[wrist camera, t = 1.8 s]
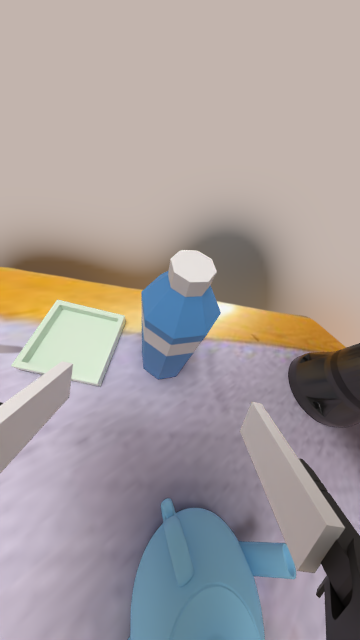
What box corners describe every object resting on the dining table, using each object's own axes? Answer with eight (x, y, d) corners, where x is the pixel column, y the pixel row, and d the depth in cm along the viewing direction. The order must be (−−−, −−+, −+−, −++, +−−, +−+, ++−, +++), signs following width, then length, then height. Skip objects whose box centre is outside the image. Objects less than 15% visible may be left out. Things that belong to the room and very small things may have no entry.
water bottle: (132, 349, 36) (119, 243, 15) (170, 329, 40) (202, 224, 19) (155, 389, 33) (179, 330, 12) (194, 364, 37) (265, 285, 15)
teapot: (256, 722, 18) (379, 1047, 9) (99, 680, 18) (48, 973, 8) (257, 516, 26) (321, 568, 17) (149, 484, 26) (153, 519, 17)
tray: (125, 321, 39) (124, 315, 36) (100, 386, 31) (97, 383, 29) (62, 306, 38) (57, 299, 35) (20, 369, 30) (10, 365, 28)
